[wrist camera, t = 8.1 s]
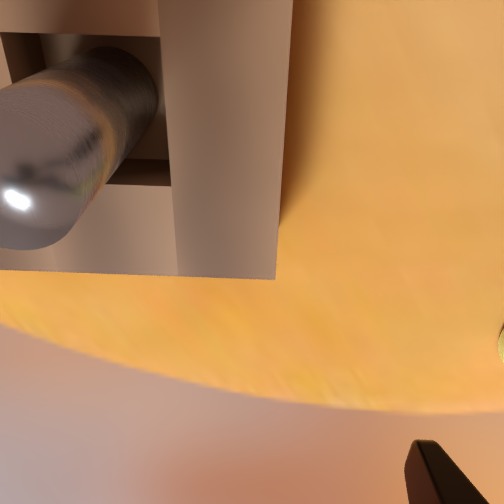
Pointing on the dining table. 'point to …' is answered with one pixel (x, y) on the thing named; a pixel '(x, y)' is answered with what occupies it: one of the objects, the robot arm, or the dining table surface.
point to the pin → (67, 140)
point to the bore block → (173, 134)
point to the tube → (501, 345)
